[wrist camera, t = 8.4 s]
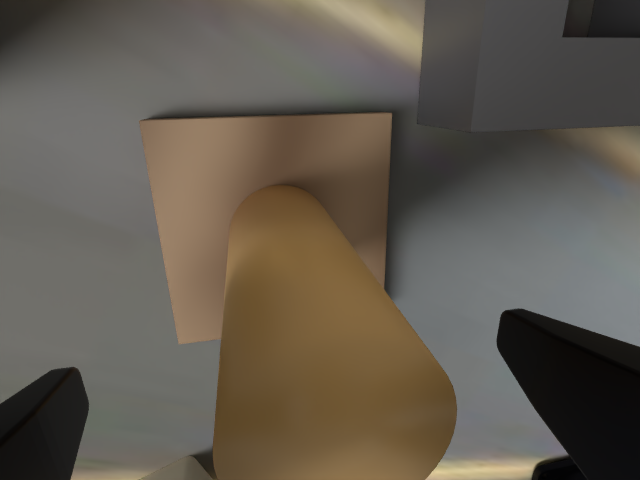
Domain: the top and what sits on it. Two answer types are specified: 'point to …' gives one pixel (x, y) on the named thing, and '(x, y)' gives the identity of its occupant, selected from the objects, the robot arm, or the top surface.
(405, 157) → the top surface
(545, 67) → the socket block
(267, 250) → the amber plug
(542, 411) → the robot arm
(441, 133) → the top surface
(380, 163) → the tan square tile
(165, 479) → the electrical outlet
